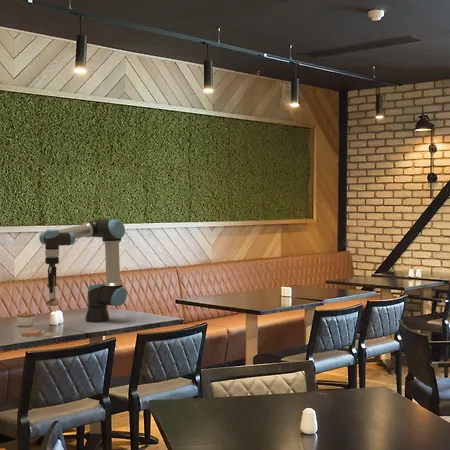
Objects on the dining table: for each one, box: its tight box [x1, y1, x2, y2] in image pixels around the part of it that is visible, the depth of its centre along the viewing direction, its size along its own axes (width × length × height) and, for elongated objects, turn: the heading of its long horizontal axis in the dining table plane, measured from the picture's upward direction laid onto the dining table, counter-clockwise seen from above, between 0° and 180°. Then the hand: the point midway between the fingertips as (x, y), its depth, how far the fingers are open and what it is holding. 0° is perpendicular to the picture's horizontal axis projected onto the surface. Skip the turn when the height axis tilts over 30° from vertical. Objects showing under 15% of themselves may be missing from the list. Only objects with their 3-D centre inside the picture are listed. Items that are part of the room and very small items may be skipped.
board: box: [17, 330, 47, 338], centre depth 414 cm, size 12×18×1 cm, turn 2°
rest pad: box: [42, 331, 62, 337], centre depth 414 cm, size 9×9×1 cm
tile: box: [20, 329, 43, 338], centre depth 412 cm, size 9×2×11 cm
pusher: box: [45, 276, 60, 307], centre depth 414 cm, size 6×6×16 cm
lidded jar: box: [16, 311, 36, 328], centre depth 441 cm, size 11×11×9 cm
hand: (52, 298), depth 414 cm, fingers closed on pusher, 3 cm apart
